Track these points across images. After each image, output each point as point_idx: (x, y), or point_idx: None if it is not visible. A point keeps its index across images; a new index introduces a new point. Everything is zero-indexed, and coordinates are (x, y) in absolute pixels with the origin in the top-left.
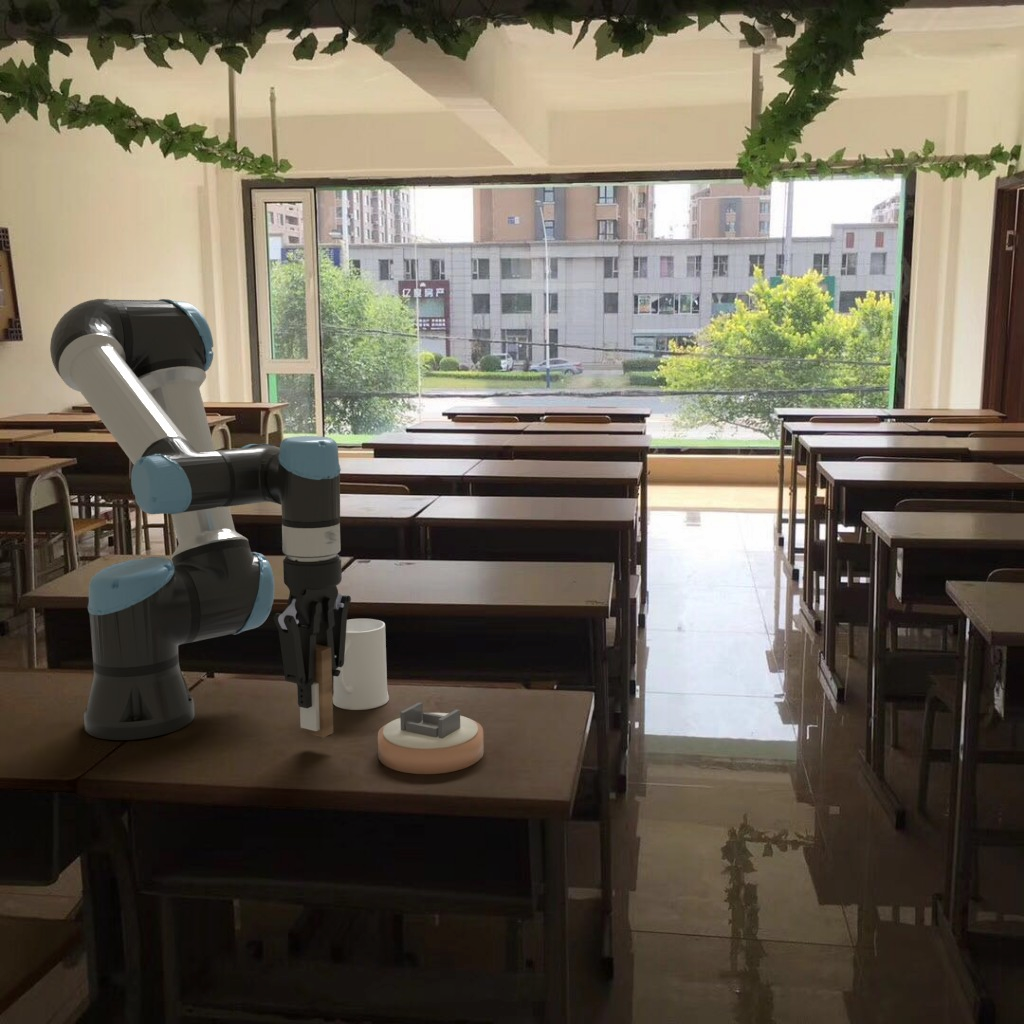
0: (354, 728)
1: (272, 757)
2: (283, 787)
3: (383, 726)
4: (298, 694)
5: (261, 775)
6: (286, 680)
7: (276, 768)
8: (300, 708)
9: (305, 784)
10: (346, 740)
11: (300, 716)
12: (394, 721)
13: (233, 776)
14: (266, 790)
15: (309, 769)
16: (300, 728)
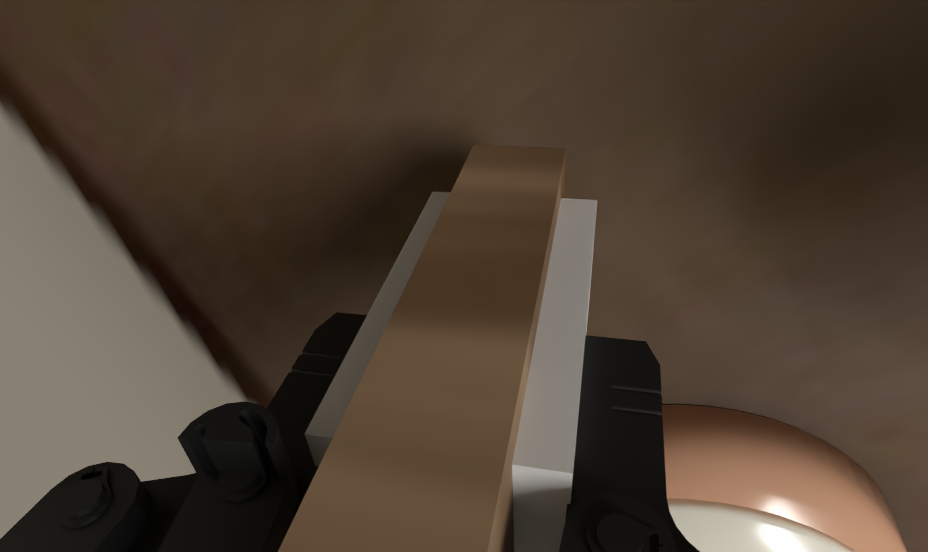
0: (896, 185)
1: (322, 52)
2: (185, 283)
3: (672, 485)
4: (284, 389)
5: (176, 151)
6: (76, 480)
7: (258, 159)
8: (395, 267)
9: (251, 328)
10: (691, 242)
11: (412, 232)
12: (719, 523)
13: (79, 48)
14: (130, 250)
15: (340, 277)
16: (468, 155)
